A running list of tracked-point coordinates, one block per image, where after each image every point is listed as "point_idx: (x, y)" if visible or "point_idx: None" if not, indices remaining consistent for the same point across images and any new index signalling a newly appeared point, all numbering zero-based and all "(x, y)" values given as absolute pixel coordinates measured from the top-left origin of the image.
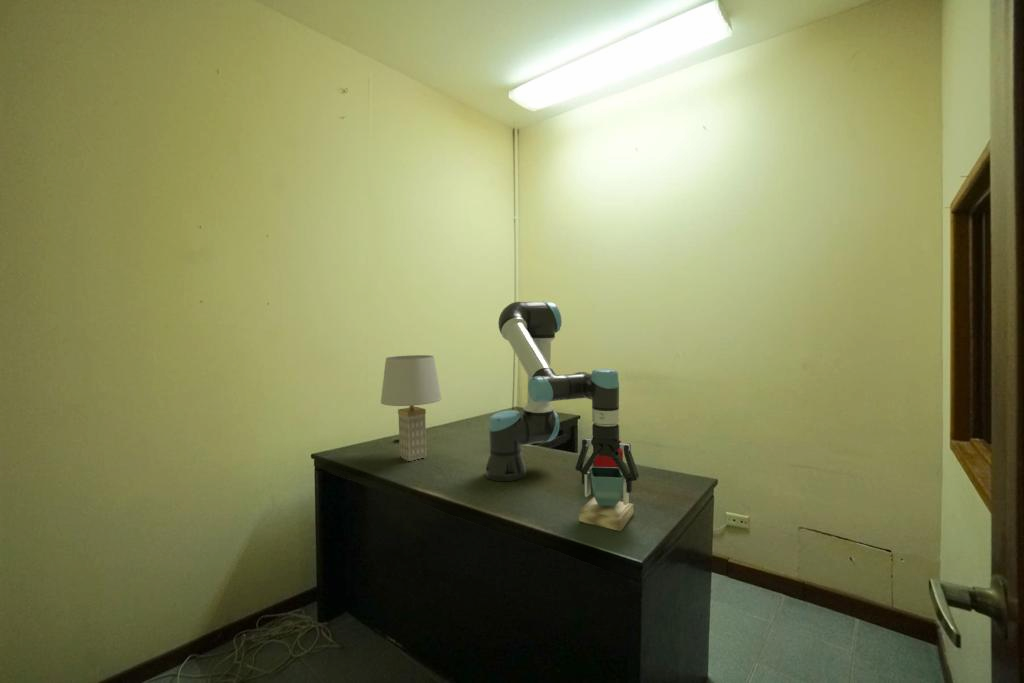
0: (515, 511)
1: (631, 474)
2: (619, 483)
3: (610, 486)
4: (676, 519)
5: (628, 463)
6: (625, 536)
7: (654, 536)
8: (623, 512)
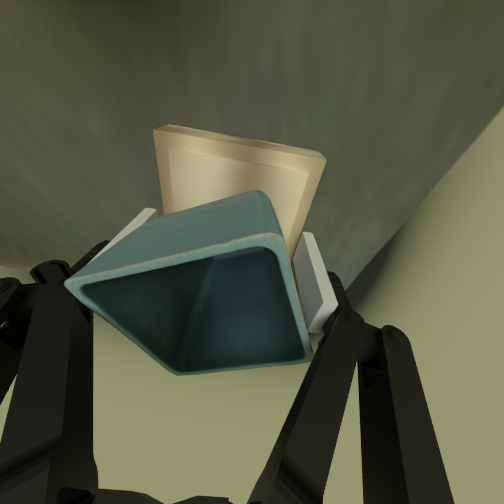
0: (21, 244)
1: (362, 380)
2: (288, 335)
3: (251, 325)
4: (471, 140)
5: (372, 468)
6: (293, 275)
7: (357, 260)
8: (289, 239)
